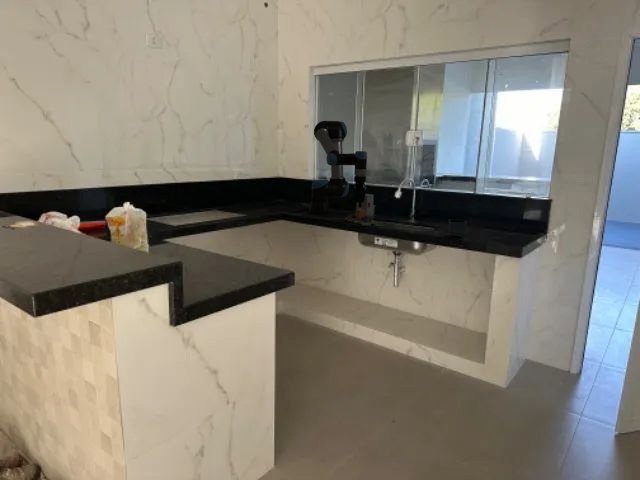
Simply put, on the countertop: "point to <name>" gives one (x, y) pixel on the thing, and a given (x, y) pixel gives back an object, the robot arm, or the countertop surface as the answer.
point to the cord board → (364, 221)
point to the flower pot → (457, 227)
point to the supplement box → (368, 204)
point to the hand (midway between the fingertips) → (358, 212)
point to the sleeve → (361, 213)
